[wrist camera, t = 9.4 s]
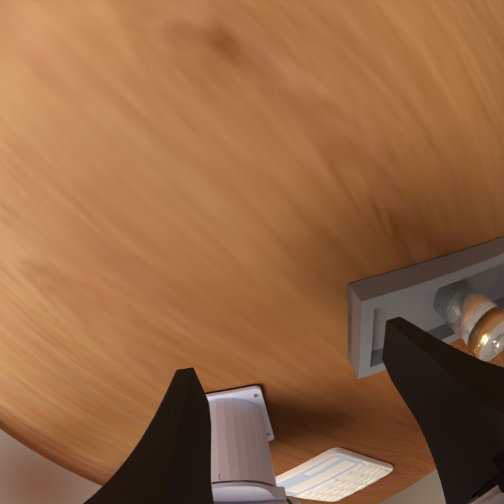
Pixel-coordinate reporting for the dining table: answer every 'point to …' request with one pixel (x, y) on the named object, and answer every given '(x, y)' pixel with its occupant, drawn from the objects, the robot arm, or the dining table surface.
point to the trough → (416, 299)
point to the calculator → (332, 475)
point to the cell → (472, 318)
